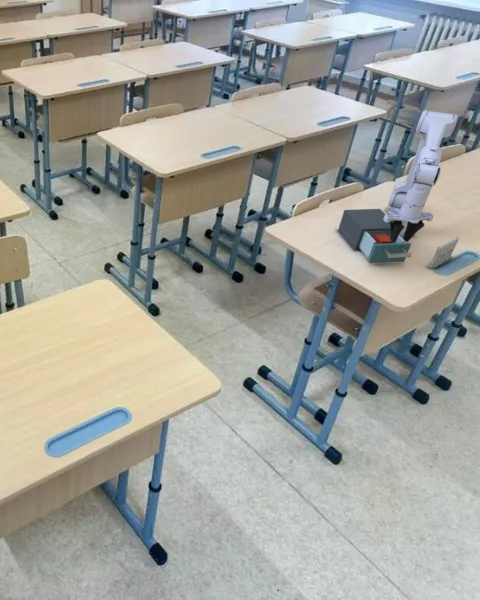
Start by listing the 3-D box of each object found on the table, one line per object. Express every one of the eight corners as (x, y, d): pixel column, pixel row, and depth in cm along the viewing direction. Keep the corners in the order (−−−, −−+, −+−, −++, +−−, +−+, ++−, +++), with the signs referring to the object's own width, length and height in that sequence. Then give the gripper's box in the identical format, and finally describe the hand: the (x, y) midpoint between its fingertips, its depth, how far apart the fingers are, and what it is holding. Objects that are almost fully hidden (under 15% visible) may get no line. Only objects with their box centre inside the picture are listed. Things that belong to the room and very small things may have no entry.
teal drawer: (411, 270, 179) (419, 252, 175) (376, 271, 179) (383, 253, 175) (385, 242, 193) (392, 225, 189) (352, 243, 193) (358, 226, 188)
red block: (381, 246, 189) (386, 234, 186) (388, 253, 185) (393, 241, 182) (370, 247, 189) (375, 234, 186) (376, 254, 185) (381, 241, 182)
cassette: (432, 269, 181) (441, 249, 176) (426, 266, 182) (435, 247, 178) (451, 258, 186) (461, 238, 182) (446, 255, 188) (455, 236, 183)
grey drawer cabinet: (391, 249, 191) (399, 227, 186) (354, 250, 190) (361, 229, 185) (372, 229, 202) (380, 208, 197) (337, 230, 201) (344, 209, 196)
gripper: (398, 209, 164) (383, 248, 172) (445, 207, 165) (428, 246, 173) (386, 198, 170) (372, 236, 178) (432, 196, 170) (416, 234, 179)
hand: (399, 240), depth 176 cm, fingers open, 4 cm apart
